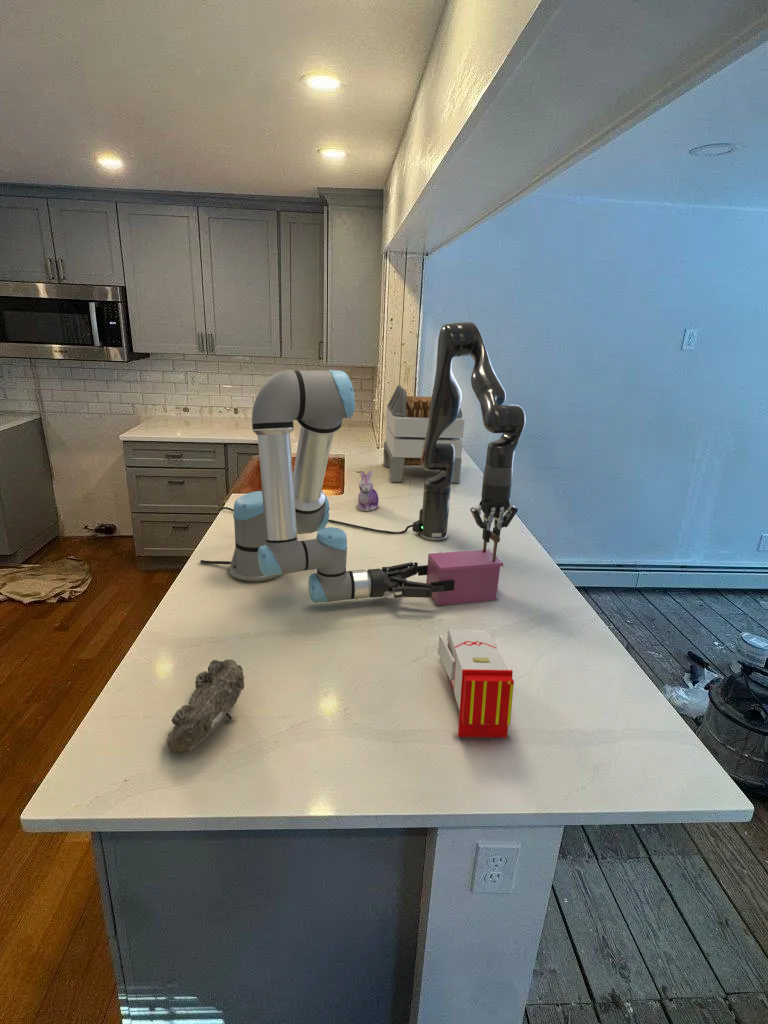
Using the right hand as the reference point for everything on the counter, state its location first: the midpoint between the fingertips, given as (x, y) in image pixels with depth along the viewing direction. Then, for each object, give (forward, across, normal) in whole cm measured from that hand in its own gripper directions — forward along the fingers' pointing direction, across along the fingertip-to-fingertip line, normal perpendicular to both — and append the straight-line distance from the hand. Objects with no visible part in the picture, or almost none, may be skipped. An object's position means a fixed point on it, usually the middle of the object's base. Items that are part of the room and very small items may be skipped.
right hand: (490, 541), depth 156 cm
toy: (+16, -22, -40) cm, 49 cm away
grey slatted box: (+16, +21, +120) cm, 123 cm away
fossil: (+16, -74, -37) cm, 84 cm away
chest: (+16, -8, 0) cm, 17 cm away
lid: (+6, -7, 0) cm, 9 cm away
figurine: (+16, -16, +74) cm, 78 cm away
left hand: (+10, -12, 0) cm, 16 cm away
